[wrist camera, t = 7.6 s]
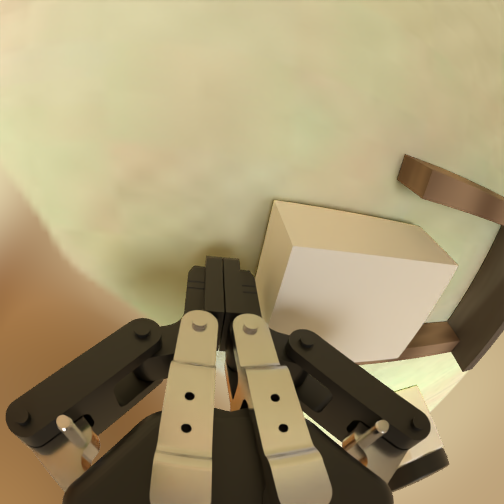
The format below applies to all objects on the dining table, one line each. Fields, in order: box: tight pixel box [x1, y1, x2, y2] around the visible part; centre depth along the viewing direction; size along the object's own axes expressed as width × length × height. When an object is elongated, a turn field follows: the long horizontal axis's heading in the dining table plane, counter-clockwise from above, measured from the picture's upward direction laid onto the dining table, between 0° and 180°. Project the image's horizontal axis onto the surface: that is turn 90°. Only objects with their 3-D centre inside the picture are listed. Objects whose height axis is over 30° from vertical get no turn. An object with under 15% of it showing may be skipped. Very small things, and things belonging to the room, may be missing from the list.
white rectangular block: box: [255, 200, 458, 363], centre depth 15 cm, size 9×7×5 cm
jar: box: [388, 385, 449, 492], centre depth 25 cm, size 9×8×12 cm
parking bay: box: [355, 154, 504, 372], centre depth 16 cm, size 14×14×5 cm
